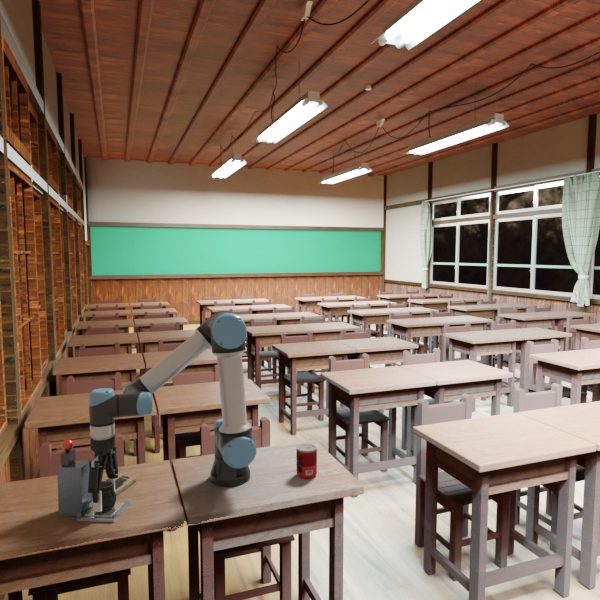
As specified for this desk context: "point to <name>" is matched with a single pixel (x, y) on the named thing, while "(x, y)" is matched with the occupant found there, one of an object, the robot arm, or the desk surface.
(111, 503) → the mate gourd
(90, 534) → the desk surface
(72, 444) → the lever
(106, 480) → the robot arm
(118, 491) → the computer
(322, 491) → the desk surface
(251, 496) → the desk surface
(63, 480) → the press
